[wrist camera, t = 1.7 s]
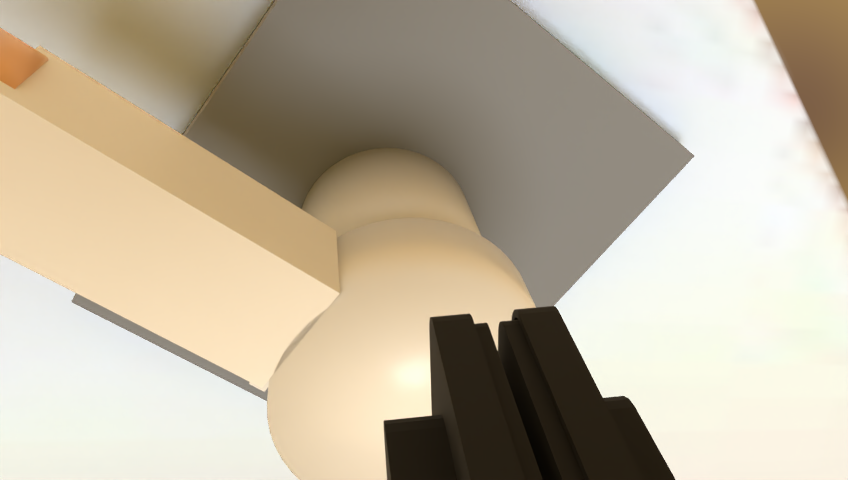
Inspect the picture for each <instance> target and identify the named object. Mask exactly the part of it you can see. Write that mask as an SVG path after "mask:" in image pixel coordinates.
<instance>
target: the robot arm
mask: <svg viewBox="0 0 848 480" xmlns="http://www.w3.org/2000/svg"><path fill="white" fill-rule="evenodd" d="M429 338H430V372H431V407H432V416H423V417H413V418H403V419H394V420H384V422H383V423H384V442H385V457H386V472H387V480H675V478H674V476H673V474H672V473H671V471H670V469H669V467H668V465H667V464H666V462H665V460H664V458H663V456H662V455H661V453H660V451H659V449H658V448H657V446H656V444H655V442H654V440H653V439H652V437H651V435H650V433H649V431H648V430H647V428H646V426H645V424H644V422H643V421H642V419H641V417H640V415H639V413H638V412H637V410H636V408H635V406H634V405H633V404H632V402H631V401H630V400H629V399H628V398H626V397H625V396H619V397H609V398H602V396H601V394H600V392H599V390H598V388H597V386H596V384H595V382H594V380H593V378H592V376H591V374H590V372H589V370H588V368H587V366H586V364H585V362H584V360H583V358H582V356H581V354H580V352H579V350H578V348H577V346H576V345H575V343H574V341H573V339H572V337H571V335H570V333H569V331H568V329H567V327H566V325H565V323H564V321H563V319H562V317H561V315H560V313H559V311H558V310H557V308H556V307H555V306H547V307H536V308H525V309H515V310H514V311H513V313H512V320H510V321H500V323H499V327H498V351H497V348H496V345H495V342H494V340H493V337H492V334H491V331H490V328H489V326H488V324H487V323H477V324H474V321H473V318H472V316H471V314H458V315H447V316H436V317H430V321H429Z"/></svg>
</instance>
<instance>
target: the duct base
mask: <svg viewBox="0 0 848 480" xmlns="http://www.w3.org/2000/svg"><path fill="white" fill-rule="evenodd" d="M183 136H185V137H187V138H188V139H190V140H191V141H193V142H195V143H196V144H198V145H199V146H201V147H203V148H204V149H206V150H207V151H209V152H211V153H212V154H214V155H215V156H217V157H219V158H220V159H222V160H223V161H225V162H227V163H228V164H230V165H231V166H233V167H235V168H236V169H238V170H239V171H241V172H243V173H244V174H246V175H247V176H249V177H251V178H252V179H254V180H255V181H257V182H259V183H260V184H262V185H263V186H265V187H267V188H268V189H270V190H271V191H273V192H275V193H276V194H278V195H279V196H281V197H283V198H284V199H286V200H287V201H289V202H291V203H292V204H294V205H295V206H297V207H299V208H300V209H302V210H303V211H305V212H307V213H308V214H310V215H311V216H313V217H315V218H316V219H318V220H319V221H321V222H323V223H324V224H326V225H327V226H329V227H331V228H332V229H334V230H335V231H336V235H337V237H338V236H340V235H342V234H345V233H347V232H349V231H351V230H353V229H356V228H359V227H362V226H365V225H367V224H371V223H375V222H380V221H384V220H391V219H401V218H425V219H432V220H439V221H444V222H448V223H451V224H455V225H459V226H461V227H463V228H466V229H468V230H471V231H473V232H475V233H477V234H479V235H480V236H482V237H484V238H485V239H487V240H489V241H490V242H491V243H493V244H494V245H495V246H496V247H498V248H499V249H500V250H501V251H502V252H503V253H504V254H505V255H506V256H507V257H508V258H509V259H510V260H511V261H512V263H513V264H514V266H515V267H516V269H517V270H518V271H519V273H520V275H521V277H522V279H523V281H524V283H525V285H526V287H527V289H528V291H529V294H530V296H531V298H532V300H533V302H534V304H535V306H536V307H547V306H554V305H555V304H556V303H557V302H558V301H559V299H560V298H561V297H562V296H563V295H564V294H565V293H566V292H567V291H568V290H569V289H570V288H571V287H572V286H573V285H574V284H575V282H576V281H577V280H578V279H579V278H580V277H581V276H582V275H583V274H584V273H585V272H586V271H587V270H588V269H589V268H590V267H591V265H592V264H593V263H594V262H595V261H596V260H597V259H598V258H599V257H600V256H601V255H602V254H603V253H604V252H605V251H606V249H607V248H608V247H609V246H610V245H611V244H612V243H613V242H614V241H615V240H616V239H617V238H618V237H619V236H620V235H621V234H622V232H623V231H624V230H625V229H626V228H627V227H628V226H629V225H630V224H631V223H632V222H633V221H634V220H635V219H636V218H637V217H638V215H639V214H640V213H641V212H642V211H643V210H644V209H645V208H646V207H647V206H648V205H649V204H650V203H651V202H652V201H653V200H654V198H655V197H656V196H657V195H658V194H659V193H660V192H661V191H662V190H663V189H664V188H665V187H666V186H667V185H668V184H669V182H670V181H671V180H672V179H673V178H674V177H675V176H676V175H677V174H678V173H679V172H680V171H681V170H682V169H683V168H684V167H685V165H686V164H687V163H688V162H689V161H690V160H691V159H692V158H693V157H694V155H693V154H692V153H691V152H689V151H688V150H687V149H686V148H685V147H683V146H682V145H681V144H680V143H679V142H678V141H676V140H675V139H674V138H673V137H672V136H670V135H669V134H668V133H667V132H666V131H664V130H663V129H662V128H661V127H660V126H659V125H657V124H656V123H655V122H654V121H653V120H651V119H650V118H649V117H648V116H647V115H645V114H644V113H643V112H642V111H641V110H640V109H638V108H637V107H636V106H635V105H634V104H632V103H631V102H630V101H629V100H628V99H627V98H625V97H624V96H623V95H622V94H621V93H619V92H618V91H617V90H616V89H615V88H613V87H612V86H611V85H610V84H609V83H608V82H606V81H605V80H604V79H603V78H602V77H600V76H599V75H598V74H597V73H596V72H594V71H593V70H592V69H591V68H590V67H589V66H587V65H586V64H585V63H584V62H583V61H581V60H580V59H579V58H578V57H577V56H575V55H574V54H573V53H572V52H571V51H570V50H568V49H567V48H566V47H565V46H564V45H562V44H561V43H560V42H559V41H558V40H557V39H555V38H554V37H553V36H552V35H551V34H549V33H548V32H547V31H546V30H545V29H543V28H542V27H541V26H540V25H539V24H538V23H536V22H535V21H534V20H533V19H532V18H530V17H529V16H528V15H527V14H526V13H524V12H523V11H522V10H521V9H520V8H519V7H517V6H516V5H515V4H514V3H513V2H511V1H510V0H275V1H274V2H273V4H272V5H271V7H270V8H269V10H268V11H267V12H266V14H265V15H264V17H263V18H262V20H261V21H260V23H259V24H258V26H257V27H256V29H255V30H254V31H253V33H252V34H251V36H250V37H249V39H248V40H247V42H246V43H245V45H244V46H243V48H242V49H241V50H240V52H239V53H238V55H237V56H236V58H235V59H234V61H233V62H232V64H231V65H230V66H229V68H228V69H227V71H226V72H225V74H224V75H223V77H222V78H221V80H220V81H219V83H218V84H217V85H216V87H215V88H214V90H213V91H212V93H211V94H210V96H209V97H208V99H207V100H206V102H205V103H204V104H203V106H202V107H201V109H200V110H199V112H198V113H197V115H196V116H195V118H194V119H193V121H192V122H191V123H190V125H189V126H188V128H187V129H186V131H185V132H184V134H183ZM72 302H73V303H75V304H76V305H78V306H80V307H82V308H84V309H86V310H88V311H90V312H92V313H94V314H96V315H98V316H100V317H102V318H104V319H106V320H108V321H110V322H112V323H114V324H116V325H118V326H120V327H122V328H124V329H126V330H128V331H130V332H132V333H134V334H136V335H138V336H140V337H142V338H144V339H146V340H148V341H150V342H152V343H154V344H155V345H157V346H159V347H161V348H163V349H165V350H167V351H169V352H171V353H173V354H175V355H177V356H179V357H181V358H183V359H185V360H187V361H189V362H191V363H193V364H195V365H197V366H199V367H201V368H203V369H205V370H207V371H209V372H211V373H213V374H215V375H217V376H219V377H221V378H223V379H225V380H227V381H229V382H231V383H233V384H234V385H236V386H238V387H240V388H242V389H244V390H246V391H248V392H250V393H252V394H254V395H256V396H258V397H260V398H262V399H264V400H266V401H267V397H268V385H269V380H268V381H267V383H266V384H265V385H264V386H263V387H262V388H261V387H259V386H257V385H255V384H253V383H251V382H249V381H247V380H245V379H243V378H241V377H239V376H237V375H235V374H233V373H231V372H229V371H228V370H226V369H224V368H222V367H220V366H218V365H216V364H214V363H212V362H210V361H208V360H206V359H204V358H202V357H200V356H198V355H196V354H194V353H192V352H190V351H188V350H187V349H185V348H183V347H181V346H179V345H177V344H175V343H173V342H171V341H169V340H167V339H165V338H163V337H161V336H159V335H157V334H155V333H153V332H151V331H149V330H147V329H145V328H144V327H142V326H140V325H138V324H136V323H134V322H132V321H130V320H128V319H126V318H124V317H122V316H120V315H118V314H116V313H114V312H112V311H110V310H108V309H106V308H104V307H103V306H101V305H99V304H97V303H95V302H93V301H91V300H89V299H87V298H85V297H83V296H81V295H79V294H77V293H76V294H75V296H74V298H73V300H72Z"/></svg>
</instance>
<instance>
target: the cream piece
mask: <svg viewBox="0 0 848 480" xmlns="http://www.w3.org/2000/svg"><path fill="white" fill-rule="evenodd" d="M0 254H1V255H3V256H5V257H7V258H9V259H11V260H13V261H15V262H17V263H19V264H20V265H22V266H24V267H26V268H28V269H30V270H32V271H34V272H36V273H38V274H40V275H42V276H44V277H46V278H48V279H50V280H52V281H54V282H56V283H58V284H60V285H61V286H63V287H65V288H67V289H69V290H71V291H73V292H75V293H77V294H79V295H81V296H83V297H85V298H87V299H89V300H91V301H93V302H95V303H97V304H99V305H101V306H103V307H104V308H106V309H108V310H110V311H112V312H114V313H116V314H118V315H120V316H122V317H124V318H126V319H128V320H130V321H132V322H134V323H136V324H138V325H140V326H142V327H144V328H145V329H147V330H149V331H151V332H153V333H155V334H157V335H159V336H161V337H163V338H165V339H167V340H169V341H171V342H173V343H175V344H177V345H179V346H181V347H183V348H185V349H187V350H188V351H190V352H192V353H194V354H196V355H198V356H200V357H202V358H204V359H206V360H208V361H210V362H212V363H214V364H216V365H218V366H220V367H222V368H224V369H226V370H228V371H229V372H231V373H233V374H235V375H237V376H239V377H241V378H243V379H245V380H247V381H249V382H251V383H253V384H255V385H257V386H259V387H261V388H262V387H263V386H264V385H265V384H266V383H267V381H268V380H269V385H268V397H267V418H268V424H269V429H270V434H271V436H272V439H273V442H274V445H275V447H276V449H277V451H278V453H279V454H280V456H281V458H282V460H283V461H284V463H285V464H286V465H287V466H288V468H289V469H290V470H291V472H292V473H293V474H294V475H295V476H296V477H297V478H298V479H299V480H387V472H386V457H385V442H384V423H383V422H384V420H394V419H403V418H413V417H423V416H432V407H431V372H430V338H429V321H430V317H436V316H447V315H458V314H471V316H472V318H473V321H474V324H477V323H487V324H488V326H489V328H490V331H491V334H492V337H493V340H494V342H495V345H496V348H497V351H498V327H499V323H500V321H510V320H512V313H513V311H514V310H515V309H525V308H536V306H535V304H534V302H533V300H532V298H531V296H530V294H529V291H528V289H527V287H526V285H525V283H524V281H523V279H522V277H521V275H520V273H519V271H518V270H517V269H516V267H515V266H514V264H513V263H512V261H511V260H510V259H509V258H508V257H507V256H506V255H505V254H504V253H503V252H502V251H501V250H500V249H499V248H498V247H496V246H495V245H494V244H493V243H491V242H490V241H489V240H487V239H485V238H484V237H482V236H480V235H479V234H477V233H475V232H473V231H471V230H468V229H466V228H463V227H461V226H459V225H455V224H451V223H448V222H444V221H439V220H432V219H425V218H401V219H391V220H384V221H380V222H375V223H371V224H367V225H365V226H362V227H359V228H356V229H353V230H351V231H349V232H347V233H345V234H342V235H340V236H338V237H337V235H336V231H335V230H334V229H332V228H331V227H329V226H327V225H326V224H324V223H323V222H321V221H319V220H318V219H316V218H315V217H313V216H311V215H310V214H308V213H307V212H305V211H303V210H302V209H300V208H299V207H297V206H295V205H294V204H292V203H291V202H289V201H287V200H286V199H284V198H283V197H281V196H279V195H278V194H276V193H275V192H273V191H271V190H270V189H268V188H267V187H265V186H263V185H262V184H260V183H259V182H257V181H255V180H254V179H252V178H251V177H249V176H247V175H246V174H244V173H243V172H241V171H239V170H238V169H236V168H235V167H233V166H231V165H230V164H228V163H227V162H225V161H223V160H222V159H220V158H219V157H217V156H215V155H214V154H212V153H211V152H209V151H207V150H206V149H204V148H203V147H201V146H199V145H198V144H196V143H195V142H193V141H191V140H190V139H188V138H187V137H185V136H183V135H182V134H180V133H179V132H177V131H175V130H174V129H172V128H171V127H169V126H167V125H166V124H164V123H163V122H161V121H159V120H158V119H156V118H155V117H153V116H151V115H150V114H148V113H147V112H145V111H143V110H142V109H140V108H139V107H137V106H135V105H134V104H132V103H131V102H129V101H127V100H126V99H124V98H123V97H121V96H119V95H118V94H116V93H115V92H113V91H111V90H110V89H108V88H107V87H105V86H103V85H102V84H100V83H99V82H97V81H95V80H94V79H92V78H91V77H89V76H87V75H86V74H84V73H83V72H81V71H79V70H78V69H76V68H75V67H73V66H71V65H70V64H68V63H67V62H65V61H63V60H62V59H60V58H59V57H57V56H55V55H54V54H52V53H51V52H49V51H47V50H46V49H44V48H43V47H41V46H38V47H37V48H36V49H34V48H32V47H31V46H29V45H27V44H26V43H24V42H23V41H21V40H19V39H18V38H16V37H15V36H13V35H11V34H10V33H8V32H7V31H5V30H3V29H2V28H0Z"/></svg>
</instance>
